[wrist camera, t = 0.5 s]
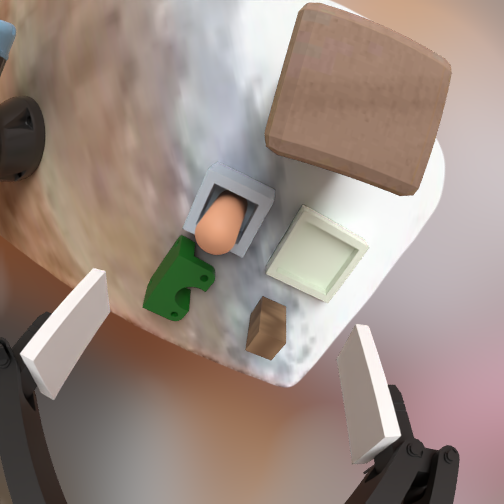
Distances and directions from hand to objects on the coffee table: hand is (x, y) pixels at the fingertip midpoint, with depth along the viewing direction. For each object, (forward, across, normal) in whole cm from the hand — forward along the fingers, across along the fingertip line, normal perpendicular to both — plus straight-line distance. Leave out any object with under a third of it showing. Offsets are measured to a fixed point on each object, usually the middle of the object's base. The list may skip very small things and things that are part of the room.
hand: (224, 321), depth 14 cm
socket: (+25, -3, -2) cm, 25 cm away
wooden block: (+25, +6, +12) cm, 28 cm away
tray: (+24, +10, -7) cm, 27 cm away
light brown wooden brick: (+24, +6, -18) cm, 31 cm away
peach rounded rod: (+24, -3, -2) cm, 24 cm away
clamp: (+25, -8, -14) cm, 30 cm away
